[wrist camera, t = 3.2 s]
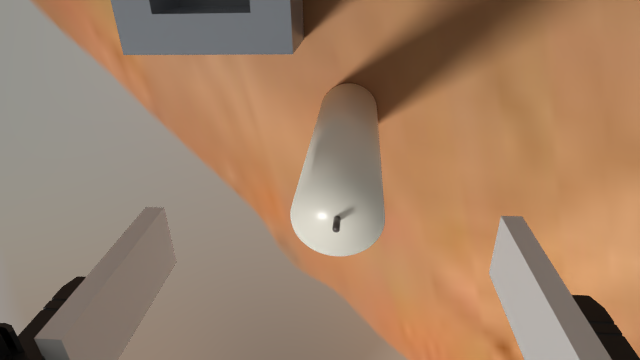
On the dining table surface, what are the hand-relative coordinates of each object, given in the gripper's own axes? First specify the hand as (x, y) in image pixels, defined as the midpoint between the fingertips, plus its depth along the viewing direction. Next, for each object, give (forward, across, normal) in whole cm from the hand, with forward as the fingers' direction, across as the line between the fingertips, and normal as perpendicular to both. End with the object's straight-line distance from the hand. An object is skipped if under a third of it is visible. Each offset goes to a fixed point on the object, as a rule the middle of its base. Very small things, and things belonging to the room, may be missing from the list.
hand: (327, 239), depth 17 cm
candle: (+15, 0, 0) cm, 15 cm away
